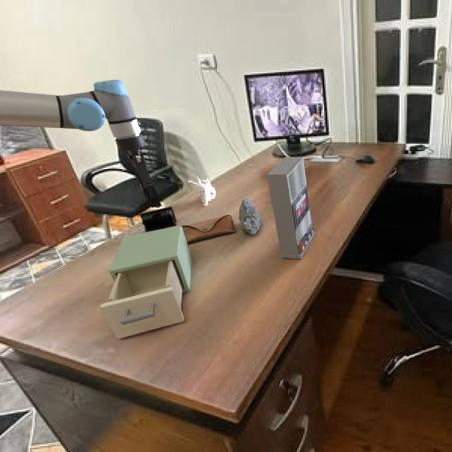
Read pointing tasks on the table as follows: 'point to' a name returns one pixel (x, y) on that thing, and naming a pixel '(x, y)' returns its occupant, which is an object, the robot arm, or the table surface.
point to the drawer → (145, 299)
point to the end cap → (158, 219)
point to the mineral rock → (249, 217)
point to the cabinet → (154, 252)
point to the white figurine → (204, 191)
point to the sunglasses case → (209, 229)
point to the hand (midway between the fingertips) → (152, 199)
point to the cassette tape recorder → (291, 207)
